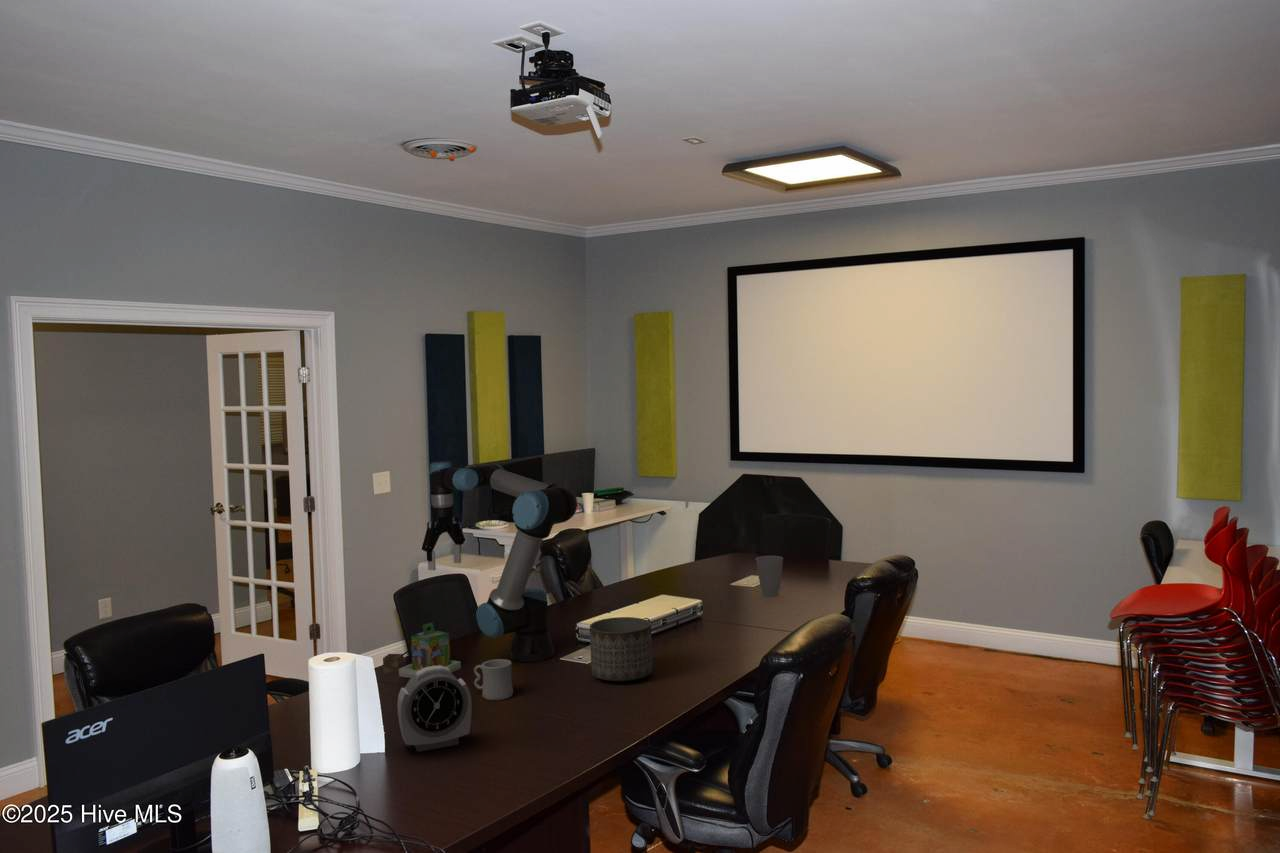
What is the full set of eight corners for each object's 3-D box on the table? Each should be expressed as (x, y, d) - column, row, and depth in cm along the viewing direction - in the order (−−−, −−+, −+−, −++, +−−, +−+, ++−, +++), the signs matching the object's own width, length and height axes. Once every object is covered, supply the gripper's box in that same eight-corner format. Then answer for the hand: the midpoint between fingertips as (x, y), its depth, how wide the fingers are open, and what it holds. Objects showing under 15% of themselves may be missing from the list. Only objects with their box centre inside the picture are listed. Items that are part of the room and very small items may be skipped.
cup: (756, 597, 391) (754, 560, 391) (757, 591, 403) (756, 555, 402) (784, 597, 389) (783, 560, 389) (784, 591, 401) (783, 555, 400)
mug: (518, 692, 278) (517, 659, 277) (504, 702, 269) (503, 668, 269) (482, 689, 282) (480, 657, 281) (467, 699, 273) (465, 666, 273)
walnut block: (404, 668, 307) (403, 653, 307) (397, 673, 302) (397, 658, 302) (389, 668, 307) (389, 653, 307) (383, 673, 303) (382, 658, 302)
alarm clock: (403, 757, 231) (399, 677, 230) (398, 745, 238) (394, 668, 238) (474, 743, 238) (471, 666, 237) (467, 733, 245) (463, 658, 245)
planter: (662, 670, 294) (660, 619, 294) (637, 688, 277) (635, 634, 276) (608, 664, 303) (606, 615, 302) (580, 682, 285) (578, 629, 284)
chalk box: (431, 674, 295) (429, 628, 295) (411, 670, 300) (409, 625, 300) (451, 666, 303) (450, 622, 302) (432, 663, 308) (430, 619, 308)
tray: (460, 668, 304) (460, 661, 304) (432, 681, 292) (432, 673, 292) (428, 664, 311) (427, 657, 310) (399, 676, 298) (398, 668, 298)
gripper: (457, 501, 334) (459, 559, 335) (409, 510, 312) (412, 572, 313) (473, 501, 330) (475, 560, 331) (426, 510, 308) (429, 573, 309)
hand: (444, 566), depth 322 cm, fingers open, 13 cm apart
